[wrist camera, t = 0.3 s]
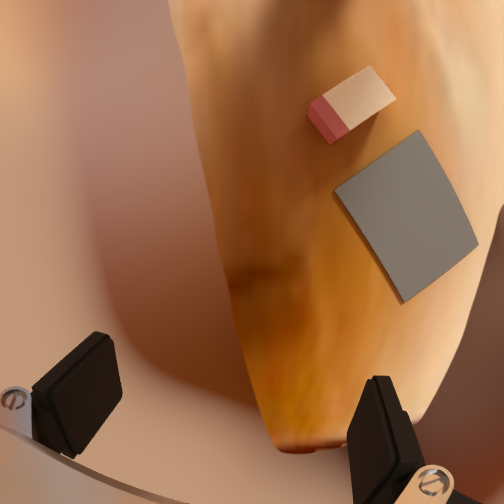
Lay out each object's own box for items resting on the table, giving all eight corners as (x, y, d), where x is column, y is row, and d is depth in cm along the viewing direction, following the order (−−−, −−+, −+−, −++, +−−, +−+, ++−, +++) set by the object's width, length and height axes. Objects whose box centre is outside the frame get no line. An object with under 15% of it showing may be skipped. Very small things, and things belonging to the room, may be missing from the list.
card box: (356, 82, 32) (369, 64, 25) (379, 111, 33) (396, 99, 26) (306, 115, 34) (309, 103, 27) (329, 145, 35) (337, 139, 28)
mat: (417, 130, 32) (419, 129, 32) (476, 243, 35) (478, 244, 34) (333, 190, 36) (334, 190, 36) (403, 300, 38) (404, 302, 38)
